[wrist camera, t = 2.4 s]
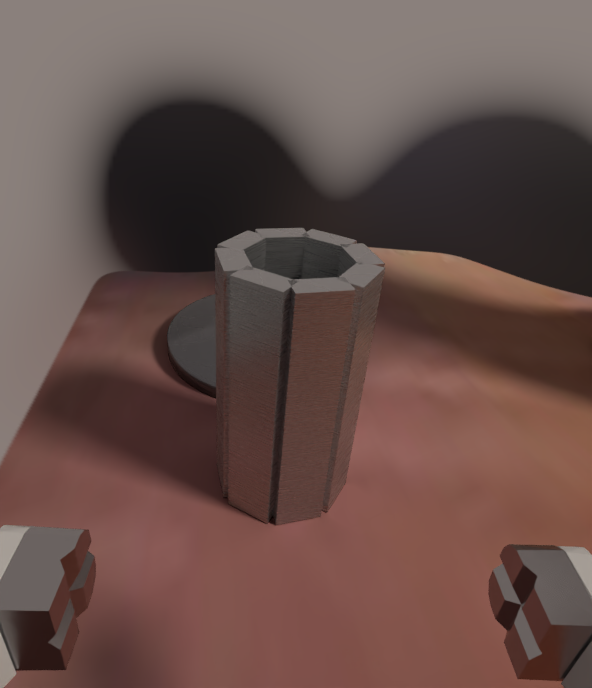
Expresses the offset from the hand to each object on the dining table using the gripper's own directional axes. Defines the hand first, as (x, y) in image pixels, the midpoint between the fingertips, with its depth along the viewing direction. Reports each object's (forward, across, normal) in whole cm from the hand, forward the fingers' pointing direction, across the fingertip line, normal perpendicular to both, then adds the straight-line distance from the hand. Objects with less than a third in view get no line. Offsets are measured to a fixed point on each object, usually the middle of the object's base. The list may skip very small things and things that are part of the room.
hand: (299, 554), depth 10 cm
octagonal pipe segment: (+13, 0, +11) cm, 17 cm away
